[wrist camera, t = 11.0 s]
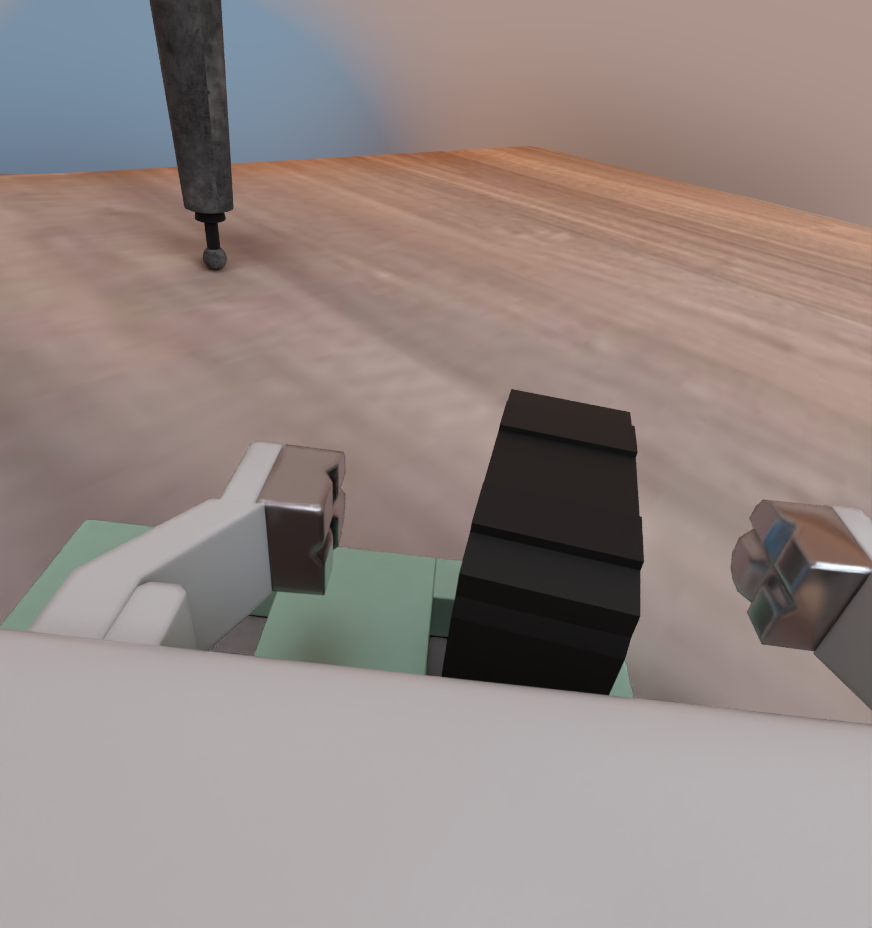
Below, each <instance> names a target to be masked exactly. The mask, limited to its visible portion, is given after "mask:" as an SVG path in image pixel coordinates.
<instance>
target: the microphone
mask: <svg viewBox="0 0 872 928" xmlns="http://www.w3.org/2000/svg"><path fill="white" fill-rule="evenodd" d="M150 6H151V11H152V17H153V23H154V29H155V35H156V41H157V47H158V53H159V59H160V65H161V71H162V77H163V82H164V88H165V95H166V101H167V106H168V112H169V118H170V124H171V130H172V136H173V142H174V148H175V154H176V160H177V166H178V172H179V178H180V184H181V190H182V196H183V201H184V207H185V208H186V209H188V210H190V211H193V212H195V219H196V220H197V221H200V222H204V224H205V232H206V241H207V248H206V249H205V251H204V253H203V260H204V262H205V264H206V265H207V266H208V267H210V268H212V269H220V268H222V267H224V265H225V264H226V261H227V257H226V254H225V252H224V250H223V249H221V248H220V241H219V232H218V223H219V222H222V221H224V220H225V219H226V218H225V214H224V212H228V211H230V210H232V209H233V192H232V176H231V159H230V142H229V126H228V112H227V111H228V110H227V94H226V93H227V92H226V76H225V59H224V43H223V26H222V11H221V0H150Z"/></svg>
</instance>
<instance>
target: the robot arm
mask: <svg viewBox="0 0 872 928" xmlns="http://www.w3.org/2000/svg"><path fill="white" fill-rule="evenodd" d="M345 473H346V468H345V454H344V452H341V451H334V450H326V449H319V448H311V447H304V446H296V445H289V444H286V445H284V444H281V443H272V442H263V441H255V442H253V443H251V444H250V445H249V447H248V449H247V451H246V452H245V454H244V456H243V458H242V460H241V461H240V463H239V465H238V467H237V469H236V470H235V472H234V474H233V476H232V477H231V479H230V481H229V483H228V485H227V486H226V488H225V490H224V492H223V494H222V495H221V497H220V499H213V498H210V499H208V500H206V501H204V502H202V503H200V504H199V505H197V506H195V507H193V508H191V509H189V510H187V511H185V512H183V513H181V514H179V515H177V516H176V517H174V518H172V519H170V520H168V521H166V522H164V523H162V524H160V525H158V526H156V527H154V528H152V529H151V530H149V531H147V532H145V533H143V534H141V535H139V536H137V537H135V538H133V539H131V540H129V541H127V542H126V543H124V544H122V545H120V546H118V547H116V548H114V549H112V550H110V551H108V552H106V553H104V554H102V555H101V556H99V557H97V558H95V559H93V560H91V561H89V562H87V563H85V564H83V565H81V566H79V567H77V568H76V569H74V570H72V571H71V573H70V574H69V575H68V577H67V578H66V579H65V581H64V582H63V583H62V585H61V586H60V587H59V589H58V590H57V591H56V593H55V594H54V595H53V597H52V598H51V599H50V600H49V602H48V603H47V604H46V606H45V607H44V608H43V610H42V611H41V612H40V614H39V615H38V616H37V618H36V619H35V620H34V622H33V623H32V624H31V625H30V627H29V628H28V629H27V631H21V630H12V629H3V628H0V928H872V724H863V723H854V722H845V721H836V720H827V719H818V718H810V717H801V716H792V715H783V714H774V713H765V712H756V711H747V710H738V709H729V708H720V707H712V706H703V705H694V704H684V703H675V702H666V701H657V700H648V699H639V698H630V697H620V696H611V695H602V694H593V693H584V692H575V691H566V690H557V689H547V688H538V687H529V686H520V685H511V684H502V683H493V682H483V681H474V680H465V679H456V678H447V677H438V676H429V675H420V674H411V673H402V672H393V671H384V670H374V669H365V668H356V667H347V666H338V665H329V664H320V663H311V662H302V661H293V660H284V659H275V658H265V657H256V656H247V655H238V654H229V653H220V652H211V651H208V650H209V649H210V648H211V647H212V646H214V645H215V644H216V643H217V642H218V641H219V640H220V639H222V638H223V637H224V636H225V635H226V634H227V633H228V632H230V631H231V630H232V629H233V628H234V627H235V626H236V625H238V624H239V623H240V622H241V621H242V620H243V619H244V618H246V617H247V616H248V615H249V614H250V613H251V612H252V611H254V610H255V609H256V608H257V607H258V606H259V605H260V604H262V603H263V602H264V601H265V600H266V599H267V598H268V597H269V596H271V595H272V591H275V592H287V593H299V594H311V595H323V596H325V592H326V589H327V585H328V582H329V578H330V574H331V571H332V567H333V550H334V549H336V548H337V547H338V546H339V542H340V538H341V534H342V528H343V522H344V513H345V493H344V491H343V490H342V489H341V487H342V483H343V480H344V476H345ZM750 521H751V524H752V527H753V529H752V530H750V531H749V532H747V533H746V534H744V535H743V536H741V537H739V539H738V541H737V543H736V545H735V548H734V550H733V552H732V559H731V573H732V579H733V582H734V584H735V586H736V589H737V591H738V592H739V593H740V594H741V595H743V596H744V597H745V598H746V599H748V600H749V601H750V602H751V605H750V607H749V609H748V611H747V613H748V615H749V618H750V620H751V622H752V624H753V626H754V628H755V631H756V633H757V635H758V637H759V639H760V641H761V644H764V645H771V646H779V647H786V648H793V649H801V650H808V651H815V652H814V653H813V654H814V655H815V656H816V657H817V658H818V659H819V660H820V661H821V662H823V663H824V664H825V665H826V666H827V667H828V668H829V669H830V670H831V671H832V672H833V673H834V674H835V675H836V676H837V677H838V678H839V679H840V680H841V681H842V682H843V683H844V684H845V685H846V686H847V687H848V688H849V689H850V690H851V691H852V692H853V693H854V694H855V695H856V696H858V697H859V698H860V699H861V700H862V701H863V702H864V703H865V704H866V705H867V706H868V707H869V708H870V709H871V710H872V522H871V520H870V519H869V518H868V516H867V515H866V514H865V513H864V512H862V511H861V510H859V509H857V508H855V507H843V506H831V505H823V506H822V505H812V504H802V503H792V502H782V501H772V500H762V501H761V502H760V503H759V504H758V505H757V506H756V507H755V508H754V510H753V512H752V514H751V516H750Z"/></svg>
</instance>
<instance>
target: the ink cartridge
mask: <svg viewBox="0 0 872 928" xmlns="http://www.w3.org/2000/svg"><path fill="white" fill-rule="evenodd" d="M636 455H637V443H636V434H635V426H632V424H631V416H630V412H626V411H621V410H616V409H611V408H605V407H600V406H595V405H590V404H585V403H580V402H575V401H570V400H564V399H559V398H554V397H549V396H544V395H539V394H534V393H529V392H523V391H518V390H513V389H511V392H510V395H509V399H508V401H507V403H506V406H505V409H504V413H503V416H502V419H501V423H500V427H499V432H498V435H497V438H496V442H495V445H494V449H493V452H492V456H491V459H490V463H489V466H488V470H487V473H486V477H485V480H484V483H483V485H482V489H481V492H480V496H479V499H478V503H477V506H476V510H475V513H474V517H473V520H472V525H471V531H470V535H469V538H468V542H467V546H466V549H465V553H464V557H463V561H462V564H461V568H460V572H459V577H458V583H457V589H456V595H455V600H454V605H453V610H452V615H451V621H450V627H449V633H448V639H447V645H446V652H445V658H444V664H443V670H442V676H441V677H447V678H456V679H465V680H474V681H483V682H493V683H502V684H511V685H520V686H529V687H538V688H547V689H557V690H566V691H575V692H584V693H593V694H602V695H609V694H610V692H611V690H612V687H613V685H614V683H615V681H616V678H617V676H618V674H619V672H620V669H621V667H622V665H623V663H624V660H625V657H626V654H627V650H628V647H629V643H630V640H631V637H632V634H633V632H634V630H635V627H636V625H637V623H638V621H639V618H640V570H641V568H642V565H643V563H644V555H643V534H642V517H640V516H639V501H638V486H637V470H636Z"/></svg>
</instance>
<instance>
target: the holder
mask: <svg viewBox="0 0 872 928" xmlns="http://www.w3.org/2000/svg"><path fill="white" fill-rule="evenodd" d="M152 528H154V527H152V526H143V525H134V524H125V523H117V522H108V521H99V520H90V519H87V520H85V521H84V522H83V523H82V525H81V526H80V527H79V528H78V530H77V531H76V532H75V533H74V535H73V536H72V537H71V538H70V540H69V541H68V542H67V543H66V545H65V546H64V547H63V548H62V550H61V551H60V552H59V553H58V554H57V556H56V557H55V558H54V559H53V561H52V562H51V563H50V564H49V566H48V567H47V568H46V569H45V571H44V572H43V573H42V574H41V576H40V577H39V578H38V579H37V581H36V582H35V583H34V584H33V586H32V587H31V588H30V589H29V591H28V592H27V593H26V594H25V595H24V597H23V598H22V599H21V600H20V602H19V603H18V604H17V605H16V607H15V608H14V609H13V610H12V612H11V613H10V614H9V615H8V617H7V618H6V619H5V620H4V622H3V623H2V624H1V625H0V628H3V629H12V630H21V631H27V629H28V628H29V627H30V625H31V624H32V623H33V622H34V620H35V619H36V618H37V616H38V615H39V614H40V612H41V611H42V610H43V608H44V607H45V606H46V604H47V603H48V602H49V600H50V599H51V598H52V597H53V595H54V594H55V593H56V591H57V590H58V589H59V587H60V586H61V585H62V583H63V582H64V581H65V579H66V578H67V577H68V575H69V574H70V573H71V571H72V570H74V569H76V568H77V567H79V566H81V565H83V564H85V563H87V562H89V561H91V560H93V559H95V558H97V557H99V556H101V555H102V554H104V553H106V552H108V551H110V550H112V549H114V548H116V547H118V546H120V545H122V544H124V543H126V542H127V541H129V540H131V539H133V538H135V537H137V536H139V535H141V534H143V533H145V532H147V531H149V530H151V529H152ZM461 564H462V561H458V560H449V559H440V558H437V559H435V558H431V557H422V556H414V555H405V554H396V553H387V552H378V551H369V550H361V549H352V548H343V547H337V548H336V549H334V550H333V567H332V571H331V574H330V578H329V582H328V585H327V589H326V592H325V596H323V595H311V594H299V593H287V592H275V591H272V595H271V596H269V597H268V598H267V599H266V600H265V601H264V602H263V603H262V604H260V605H259V606H258V607H257V608H256V609H255V610H254V611H252V612H251V613H250V614H249V615H258V616H267V617H268V618H267V621H266V623H265V626H264V629H263V632H262V634H261V637H260V640H259V643H258V645H257V648H256V651H255V654H254V656H256V657H265V658H275V659H284V660H293V661H302V662H311V663H320V664H329V665H338V666H347V667H356V668H365V669H374V670H384V671H393V672H402V673H411V674H420V675H426V671H427V659H428V648H429V636H430V635H433V636H442V637H448V633H449V627H450V621H451V615H452V610H453V605H454V600H455V595H456V589H457V583H458V577H459V572H460V568H461ZM609 695H611V696H620V697H630V698H633V693H632V689H631V684H630V680H629V676H628V671H627V667H626V662H625V660H624V663H623V665H622V667H621V669H620V672H619V674H618V676H617V678H616V681H615V683H614V685H613V687H612V690H611V692H610V694H609Z"/></svg>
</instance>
